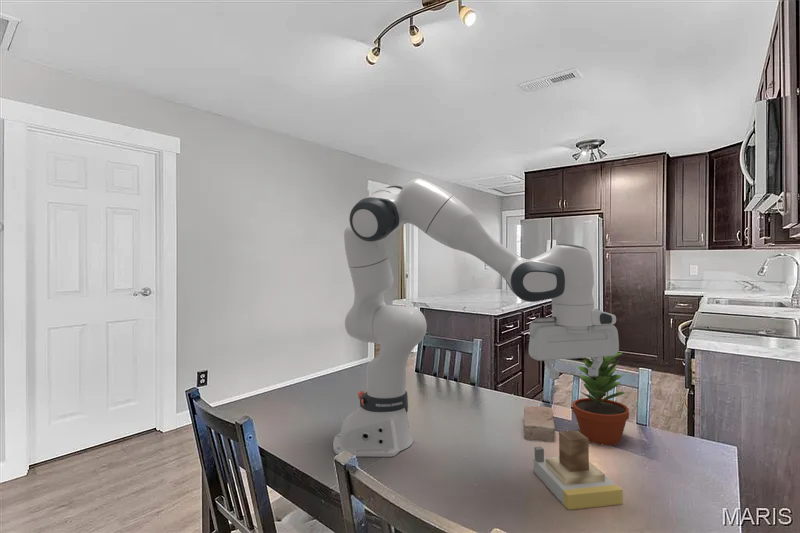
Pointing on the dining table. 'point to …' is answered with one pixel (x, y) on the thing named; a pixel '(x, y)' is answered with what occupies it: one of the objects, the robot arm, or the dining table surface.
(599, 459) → the dining table surface
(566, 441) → the wooden block on base
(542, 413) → the brick
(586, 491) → the dock
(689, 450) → the dining table surface
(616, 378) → the potted plant
